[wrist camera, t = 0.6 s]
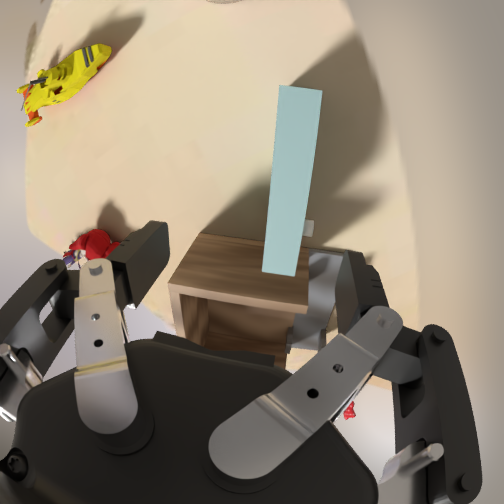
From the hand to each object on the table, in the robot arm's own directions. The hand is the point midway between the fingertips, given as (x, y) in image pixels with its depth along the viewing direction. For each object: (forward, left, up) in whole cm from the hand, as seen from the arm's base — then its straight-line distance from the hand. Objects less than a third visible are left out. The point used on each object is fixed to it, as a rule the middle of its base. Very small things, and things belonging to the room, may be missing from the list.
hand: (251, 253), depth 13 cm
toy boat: (-10, -30, -23) cm, 39 cm away
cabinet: (+23, 0, -22) cm, 32 cm away
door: (+1, +1, -22) cm, 22 cm away
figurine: (+18, -30, -23) cm, 41 cm away
